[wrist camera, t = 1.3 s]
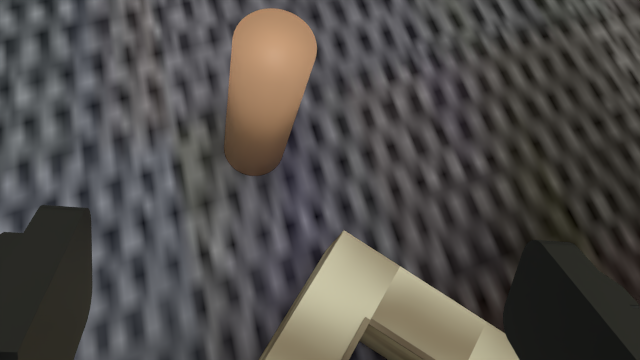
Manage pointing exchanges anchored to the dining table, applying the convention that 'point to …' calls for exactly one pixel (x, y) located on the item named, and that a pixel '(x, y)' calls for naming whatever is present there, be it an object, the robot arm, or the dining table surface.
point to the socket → (379, 314)
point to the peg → (266, 87)
